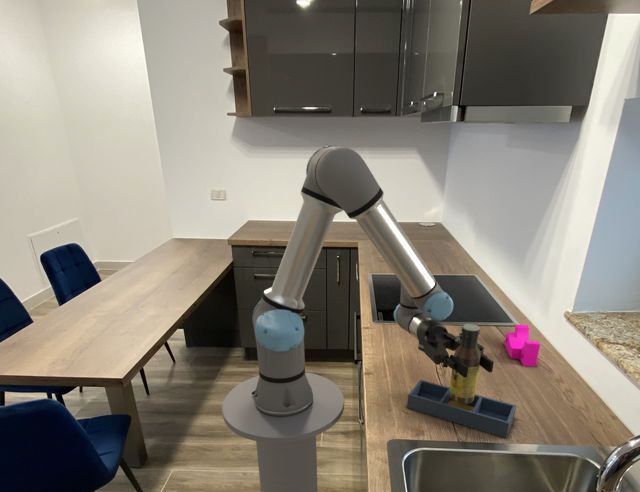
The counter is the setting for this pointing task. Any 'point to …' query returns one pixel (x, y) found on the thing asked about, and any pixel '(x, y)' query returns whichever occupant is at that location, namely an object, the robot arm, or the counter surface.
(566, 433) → the counter surface
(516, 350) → the toy block
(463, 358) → the sauce bottle
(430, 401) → the compartment tray
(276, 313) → the robot arm
